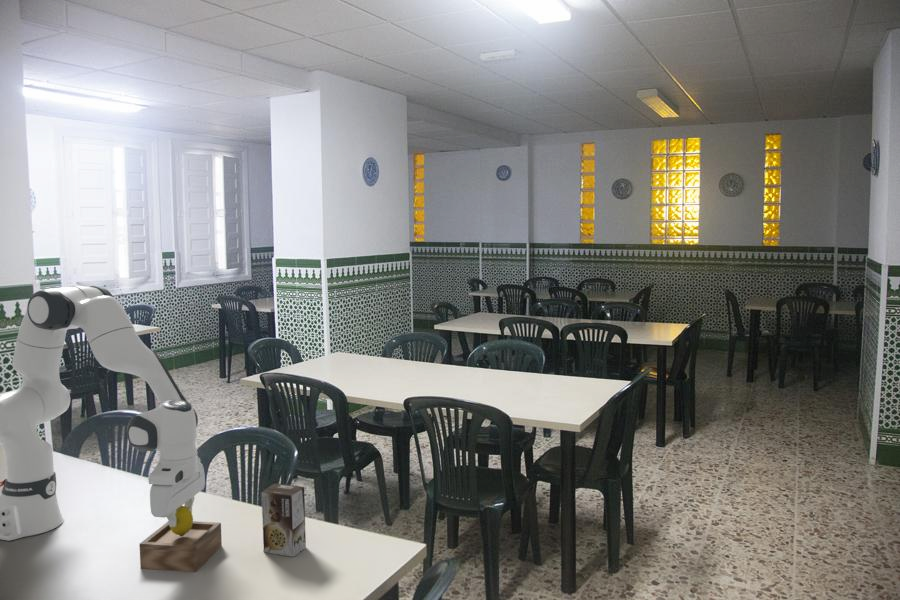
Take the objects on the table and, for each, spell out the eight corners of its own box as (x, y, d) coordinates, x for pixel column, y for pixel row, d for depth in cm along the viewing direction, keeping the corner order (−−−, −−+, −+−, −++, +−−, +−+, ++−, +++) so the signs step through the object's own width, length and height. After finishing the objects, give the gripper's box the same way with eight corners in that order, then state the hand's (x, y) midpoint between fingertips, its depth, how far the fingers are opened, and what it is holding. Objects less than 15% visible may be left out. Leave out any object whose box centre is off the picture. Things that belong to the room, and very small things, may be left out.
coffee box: (306, 546, 179) (305, 486, 178) (293, 557, 173) (292, 495, 172) (276, 541, 182) (275, 482, 181) (262, 552, 176) (260, 490, 175)
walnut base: (140, 568, 168) (139, 543, 167) (170, 542, 181) (169, 520, 181) (195, 571, 166) (194, 547, 165) (221, 545, 180) (220, 522, 179)
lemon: (185, 542, 170) (183, 510, 169) (165, 540, 171) (163, 508, 170) (198, 532, 175) (196, 501, 175) (178, 530, 177) (177, 500, 176)
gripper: (187, 452, 182) (189, 503, 183) (144, 479, 162) (146, 536, 163) (210, 453, 181) (212, 504, 183) (169, 481, 161) (171, 538, 162)
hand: (180, 520), depth 173 cm, fingers closed on lemon, 5 cm apart
